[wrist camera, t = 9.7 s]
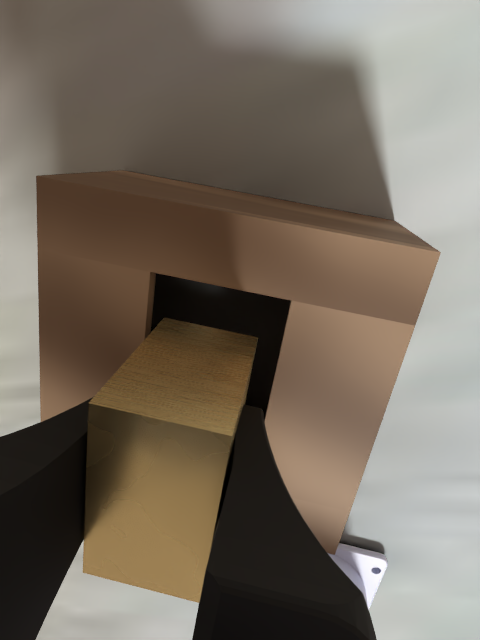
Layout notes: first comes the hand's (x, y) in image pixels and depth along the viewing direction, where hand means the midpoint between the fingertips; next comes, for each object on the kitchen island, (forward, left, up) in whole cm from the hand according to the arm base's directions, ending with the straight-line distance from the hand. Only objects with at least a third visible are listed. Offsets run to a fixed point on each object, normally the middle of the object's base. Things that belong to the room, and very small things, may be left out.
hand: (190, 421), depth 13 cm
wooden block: (0, 0, -1) cm, 1 cm away
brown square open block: (0, 0, -8) cm, 8 cm away
